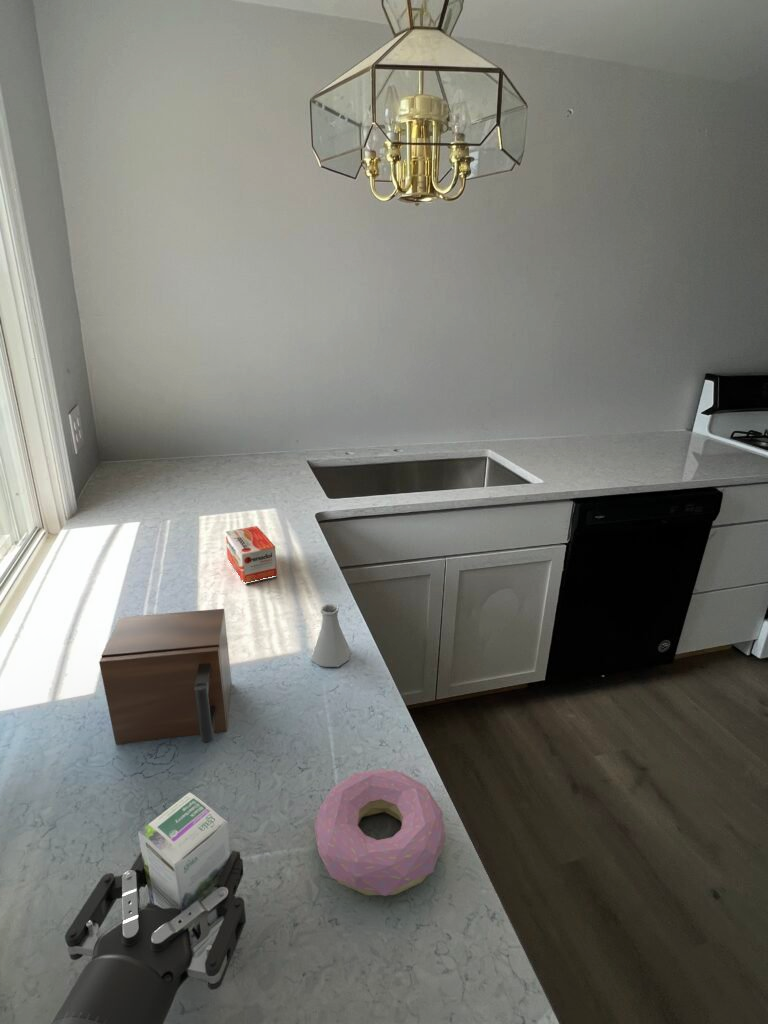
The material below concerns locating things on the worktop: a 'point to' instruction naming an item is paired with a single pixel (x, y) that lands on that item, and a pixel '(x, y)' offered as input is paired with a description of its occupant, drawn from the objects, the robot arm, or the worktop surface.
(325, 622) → the flask
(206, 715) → the door
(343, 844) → the donut
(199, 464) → the worktop surface
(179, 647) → the cabinet
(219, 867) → the syrup box
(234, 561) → the medicine box
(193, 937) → the robot arm
